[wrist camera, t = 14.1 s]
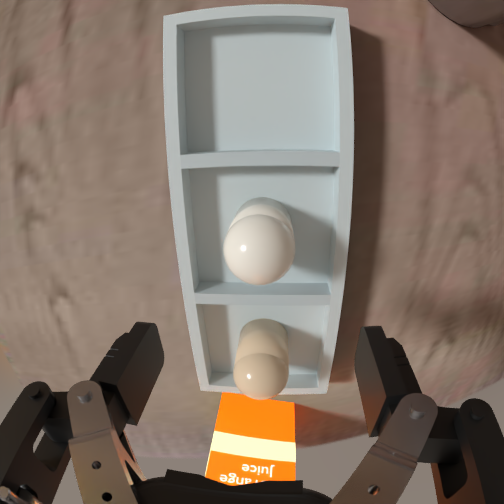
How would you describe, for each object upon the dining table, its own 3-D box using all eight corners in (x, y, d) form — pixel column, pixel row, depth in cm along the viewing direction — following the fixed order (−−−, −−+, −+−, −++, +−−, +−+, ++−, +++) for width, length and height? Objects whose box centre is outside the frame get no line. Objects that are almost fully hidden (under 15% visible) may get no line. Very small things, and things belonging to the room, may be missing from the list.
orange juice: (222, 390, 33) (190, 548, 15) (295, 402, 33) (295, 558, 15) (215, 424, 36) (188, 556, 18) (278, 434, 36) (272, 565, 18)
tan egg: (288, 318, 27) (290, 374, 21) (287, 355, 29) (287, 411, 22) (238, 317, 28) (227, 372, 21) (240, 354, 29) (232, 409, 23)
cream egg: (292, 197, 23) (298, 225, 16) (291, 252, 25) (296, 299, 18) (232, 197, 23) (214, 226, 17) (234, 252, 25) (220, 298, 19)
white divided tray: (339, 20, 18) (347, 8, 15) (323, 373, 31) (326, 393, 28) (175, 27, 19) (163, 16, 16) (206, 371, 32) (200, 390, 29)
